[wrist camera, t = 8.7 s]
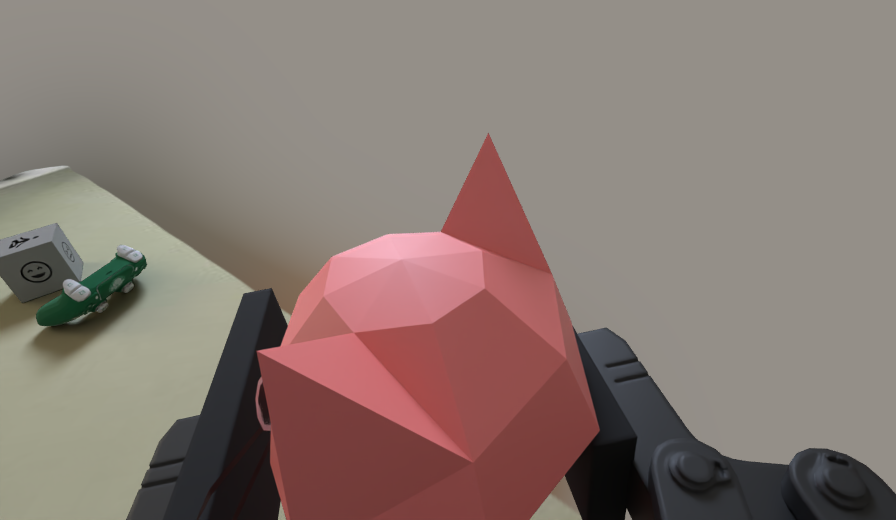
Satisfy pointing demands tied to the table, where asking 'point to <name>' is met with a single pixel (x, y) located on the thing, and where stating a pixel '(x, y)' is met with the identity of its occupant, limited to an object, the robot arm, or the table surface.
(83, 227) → the table surface
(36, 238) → the dice cube
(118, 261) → the green elongated piece
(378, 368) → the cat figurine
